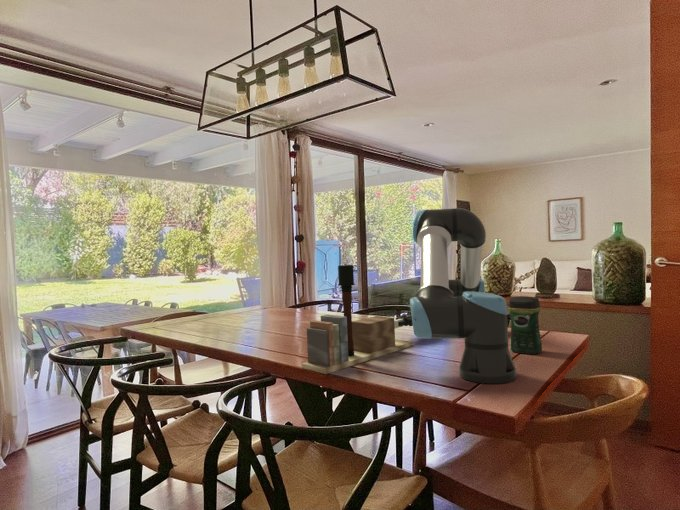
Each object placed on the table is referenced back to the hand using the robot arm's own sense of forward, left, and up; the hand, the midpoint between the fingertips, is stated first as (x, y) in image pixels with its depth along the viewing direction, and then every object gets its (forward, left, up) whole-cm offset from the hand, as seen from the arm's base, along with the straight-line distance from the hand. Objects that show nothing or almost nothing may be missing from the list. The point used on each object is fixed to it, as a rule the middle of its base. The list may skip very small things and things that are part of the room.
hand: (391, 325), depth 164 cm
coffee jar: (-12, -44, -8) cm, 46 cm away
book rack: (-13, +11, -8) cm, 19 cm away
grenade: (-18, +15, -6) cm, 24 cm away
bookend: (-8, +7, -6) cm, 12 cm away
